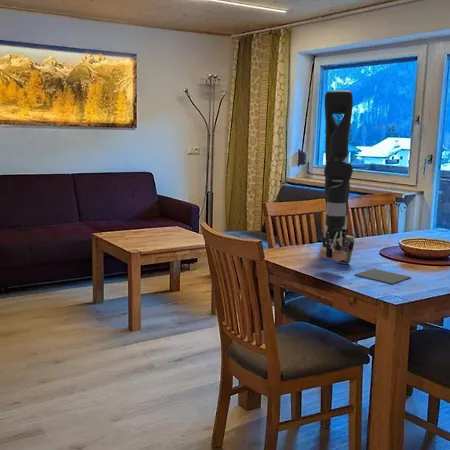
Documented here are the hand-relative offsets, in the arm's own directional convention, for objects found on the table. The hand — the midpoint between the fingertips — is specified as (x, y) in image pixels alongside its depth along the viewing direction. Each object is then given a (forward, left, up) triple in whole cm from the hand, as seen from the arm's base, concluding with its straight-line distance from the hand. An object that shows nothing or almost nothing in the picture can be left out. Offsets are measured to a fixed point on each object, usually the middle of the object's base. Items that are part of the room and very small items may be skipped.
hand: (333, 256), depth 224 cm
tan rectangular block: (0, 0, -1) cm, 1 cm away
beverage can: (-5, +16, -6) cm, 18 cm away
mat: (+17, +9, -6) cm, 20 cm away
